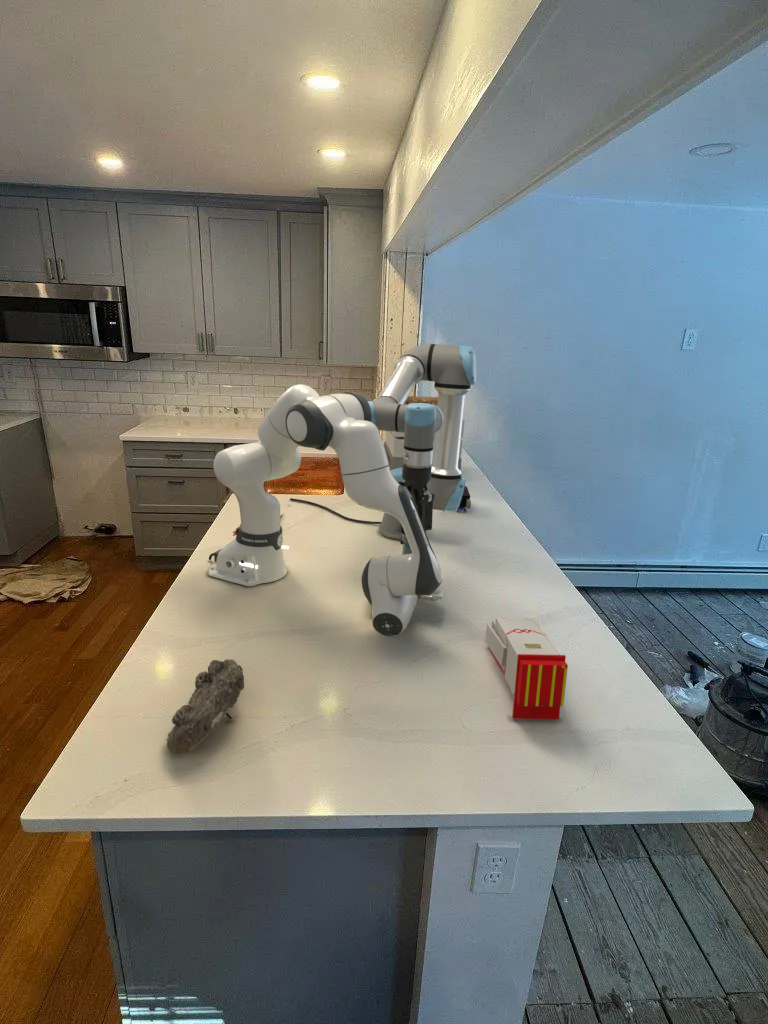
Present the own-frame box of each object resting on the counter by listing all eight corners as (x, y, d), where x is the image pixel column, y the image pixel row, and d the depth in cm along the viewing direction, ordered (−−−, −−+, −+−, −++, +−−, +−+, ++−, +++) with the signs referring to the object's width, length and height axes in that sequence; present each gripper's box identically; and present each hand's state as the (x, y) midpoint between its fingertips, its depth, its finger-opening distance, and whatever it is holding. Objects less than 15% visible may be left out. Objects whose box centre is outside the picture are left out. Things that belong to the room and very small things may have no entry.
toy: (531, 603, 136) (576, 661, 106) (526, 655, 139) (569, 725, 109) (481, 602, 135) (512, 660, 106) (477, 654, 138) (507, 724, 109)
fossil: (192, 660, 117) (244, 628, 112) (224, 691, 120) (276, 661, 115) (142, 746, 98) (202, 712, 93) (182, 779, 101) (242, 748, 96)
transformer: (382, 463, 289) (386, 382, 275) (445, 464, 293) (451, 384, 279) (390, 482, 257) (394, 392, 243) (460, 483, 261) (468, 394, 247)
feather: (290, 508, 223) (292, 504, 223) (272, 532, 197) (275, 527, 196) (286, 505, 223) (289, 501, 223) (268, 529, 197) (271, 525, 196)
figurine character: (470, 516, 223) (465, 500, 237) (473, 499, 220) (467, 484, 233) (453, 516, 223) (449, 500, 236) (455, 498, 220) (451, 483, 233)
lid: (425, 544, 150) (425, 537, 149) (401, 544, 149) (402, 536, 149) (422, 535, 156) (423, 528, 155) (400, 535, 155) (400, 528, 155)
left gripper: (442, 589, 141) (449, 566, 153) (362, 577, 145) (375, 556, 157) (440, 611, 143) (447, 586, 156) (362, 599, 147) (374, 576, 160)
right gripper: (385, 457, 151) (382, 537, 159) (426, 476, 136) (420, 563, 144) (409, 454, 155) (404, 533, 163) (451, 472, 140) (444, 558, 148)
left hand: (410, 571), depth 157 cm, fingers closed on jar, 5 cm apart
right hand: (411, 547), depth 153 cm, fingers closed on lid, 6 cm apart
